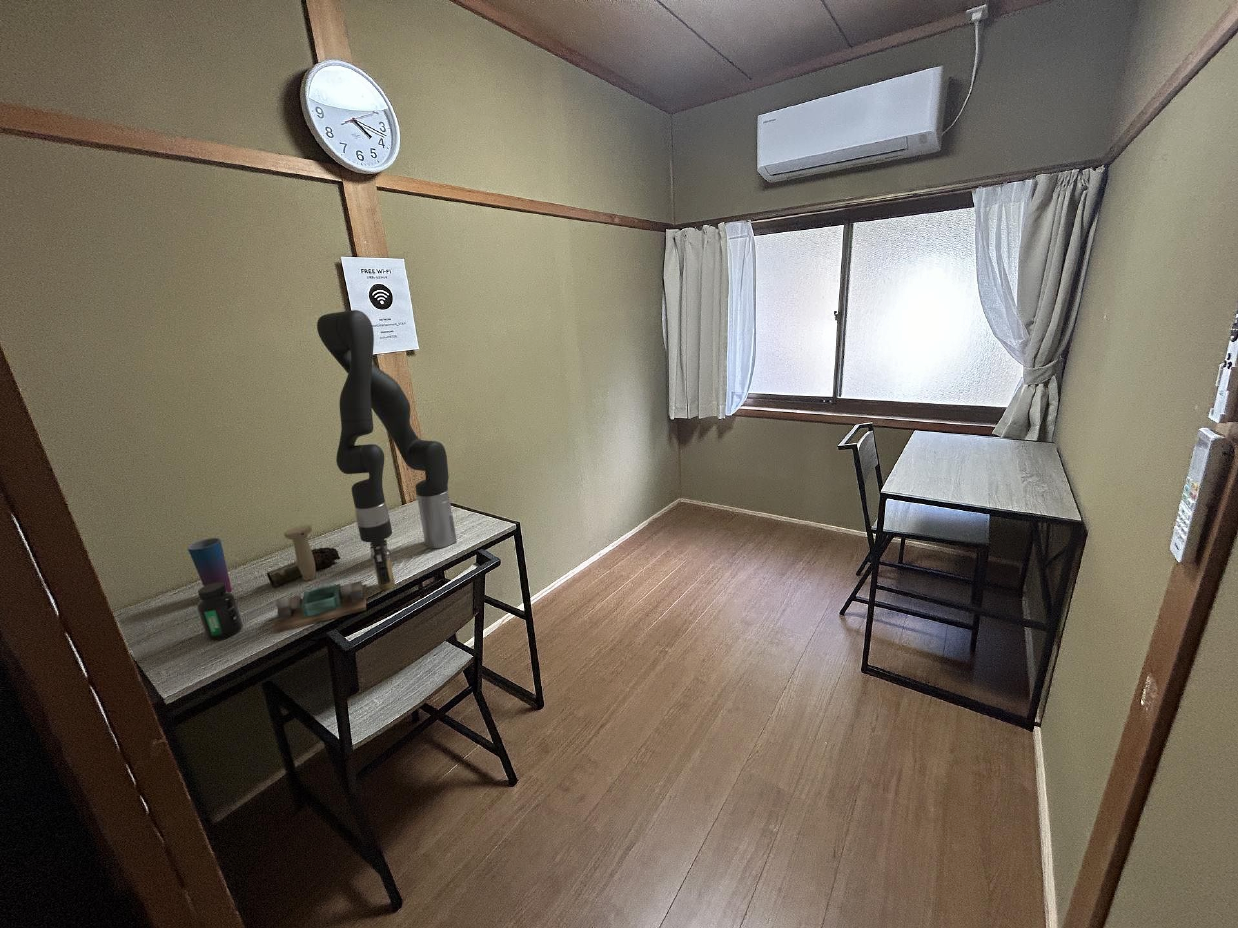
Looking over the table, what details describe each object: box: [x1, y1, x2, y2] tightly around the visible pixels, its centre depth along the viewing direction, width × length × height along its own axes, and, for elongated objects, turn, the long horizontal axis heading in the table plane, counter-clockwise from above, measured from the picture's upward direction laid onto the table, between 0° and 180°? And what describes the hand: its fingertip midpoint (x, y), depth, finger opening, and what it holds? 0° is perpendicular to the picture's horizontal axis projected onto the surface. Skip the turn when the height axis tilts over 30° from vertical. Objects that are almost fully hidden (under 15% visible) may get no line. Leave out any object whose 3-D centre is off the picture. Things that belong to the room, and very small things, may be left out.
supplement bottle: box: [196, 582, 244, 642], centre depth 116 cm, size 7×7×12 cm
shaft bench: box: [274, 580, 368, 633], centre depth 125 cm, size 19×12×5 cm, turn 115°
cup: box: [187, 537, 232, 594], centre depth 133 cm, size 7×7×15 cm
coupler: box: [370, 548, 396, 591], centre depth 134 cm, size 5×5×10 cm
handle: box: [283, 524, 317, 582], centre depth 139 cm, size 5×6×15 cm
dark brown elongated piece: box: [266, 546, 341, 588], centre depth 144 cm, size 18×7×6 cm, turn 140°
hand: (385, 578), depth 134 cm, fingers closed on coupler, 4 cm apart
